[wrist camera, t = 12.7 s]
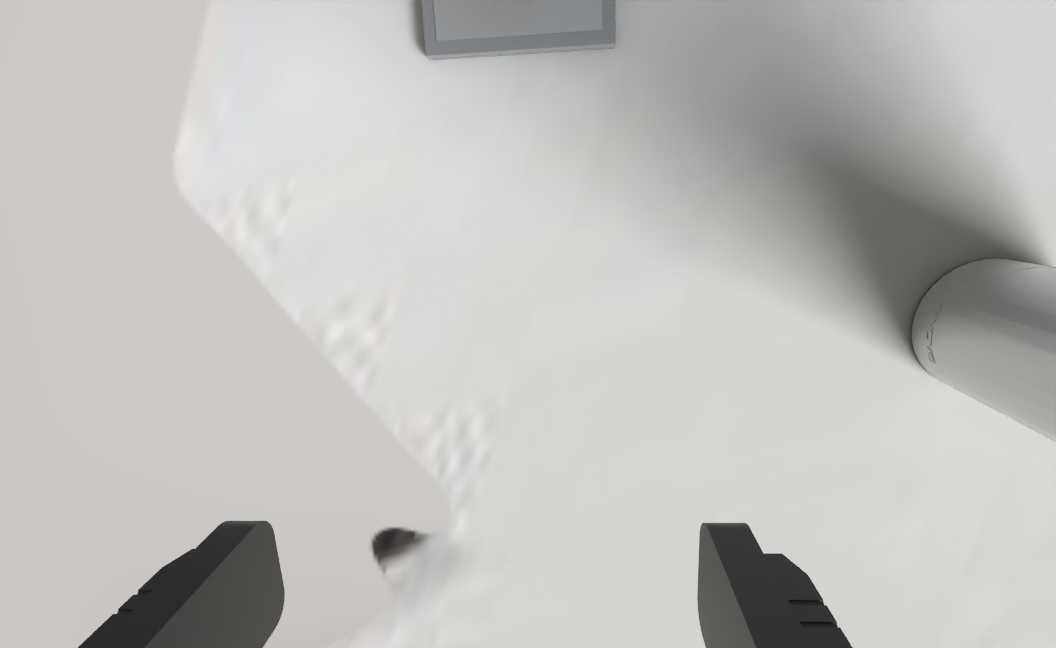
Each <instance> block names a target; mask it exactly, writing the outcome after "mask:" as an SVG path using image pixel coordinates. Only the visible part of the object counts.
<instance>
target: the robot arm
mask: <svg viewBox="0 0 1056 648" xmlns="http://www.w3.org/2000/svg"><path fill="white" fill-rule="evenodd" d="M912 343H913V348H914V352H915V354H916V356H917V358H918V360H919V362H920V364H921V365H922V366H923V367H924V368H925V369H926V370H927V372H928V373H929V374H931V375H932V376H934V377H935V378H937V379H938V380H940V381H942V382H944V383H945V384H947V385H949V386H951V387H953V388H955V389H957V390H959V391H960V392H962V393H964V394H966V395H968V396H970V397H972V398H974V399H976V400H977V401H979V402H981V403H983V404H984V405H986V406H988V407H990V408H992V409H994V410H996V411H998V412H1000V413H1002V414H1003V415H1005V416H1007V417H1009V418H1011V419H1013V420H1015V421H1017V422H1019V423H1021V424H1022V425H1024V426H1026V427H1028V428H1030V429H1032V430H1034V431H1036V432H1038V433H1039V434H1041V435H1043V436H1045V437H1047V438H1049V439H1051V440H1053V441H1055V442H1056V267H1050V266H1044V265H1038V264H1032V263H1026V262H1020V261H1014V260H1008V259H1002V258H997V259H983V260H978V261H974V262H970V263H967V264H965V265H963V266H960V267H958V268H956V269H954V270H952V271H951V272H949V273H948V274H946V275H945V276H943V277H942V278H941V279H940V280H939V281H938V282H936V283H935V284H934V285H933V286H932V287H931V288H930V289H929V291H928V292H927V293H926V295H925V296H924V297H923V299H922V300H921V302H920V304H919V307H918V309H917V311H916V313H915V316H914V321H913V325H912ZM283 605H284V586H283V580H282V574H281V569H280V563H279V558H278V552H277V548H276V541H275V536H274V531H273V528H272V526H271V525H270V523H268V522H267V521H225V522H223V523H222V524H220V525H219V526H218V527H217V528H216V529H215V530H214V531H213V532H212V533H211V534H210V535H209V536H208V537H207V538H206V539H205V540H204V541H203V542H202V543H201V544H200V545H199V546H198V547H197V548H196V549H192V550H190V551H188V552H187V553H185V554H184V555H182V556H180V557H179V558H177V559H175V560H174V561H172V562H171V563H169V564H167V565H166V566H164V567H162V569H160V570H159V571H158V572H157V573H156V574H155V575H154V576H153V577H152V578H151V579H150V580H149V581H148V582H146V583H145V584H144V585H143V587H141V588H140V589H139V590H138V594H137V595H133V596H132V597H131V598H130V599H129V600H128V601H126V602H125V603H124V604H123V605H122V606H121V607H120V608H119V609H118V613H117V614H113V615H112V616H111V617H110V618H109V619H108V620H106V621H105V622H104V623H103V624H102V625H101V626H100V627H99V628H98V629H97V630H96V631H95V632H94V633H93V634H92V635H91V636H90V637H89V638H88V639H86V640H85V641H84V642H83V643H82V644H81V645H80V646H79V647H78V648H263V646H264V645H265V643H266V642H267V640H268V638H269V637H270V636H271V633H272V632H273V631H274V629H275V628H276V626H277V624H278V622H279V620H280V617H281V614H282V610H283ZM698 612H699V620H700V626H701V631H702V635H703V639H704V642H705V646H706V648H852V646H851V645H850V643H849V641H848V640H847V638H846V637H845V635H844V633H843V632H842V630H841V628H838V627H837V622H836V620H835V619H834V617H833V615H832V614H831V612H830V611H829V609H828V607H827V606H826V605H824V603H823V599H822V598H821V596H820V594H819V593H818V591H817V589H816V588H815V586H814V584H813V583H812V581H811V580H810V578H809V576H808V575H807V574H806V573H805V572H803V571H802V570H801V569H800V568H799V567H797V566H796V565H795V564H794V563H793V562H791V561H790V560H789V559H788V558H787V557H785V556H784V555H783V554H763V552H762V550H761V548H760V546H759V545H758V543H757V541H756V539H755V537H754V535H753V533H752V531H751V529H750V528H749V526H748V525H747V524H746V523H702V525H701V529H700V543H699V571H698Z"/></svg>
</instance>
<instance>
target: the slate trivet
mask: <svg viewBox="0 0 1056 648" xmlns="http://www.w3.org/2000/svg"><path fill="white" fill-rule="evenodd" d="M421 6H422V18H423V30H424V42H425V54H426V57H427V58H428V59H430V60H439V59H454V58H470V57H485V56H500V55H516V54H531V53H546V52H561V51H577V50H592V49H607V48H614V46H615V0H421Z"/></svg>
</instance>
